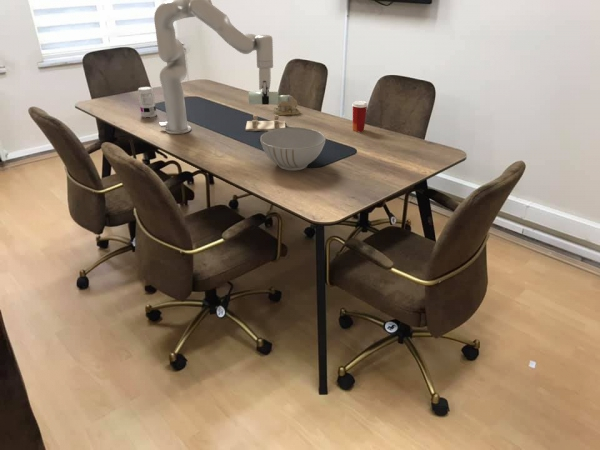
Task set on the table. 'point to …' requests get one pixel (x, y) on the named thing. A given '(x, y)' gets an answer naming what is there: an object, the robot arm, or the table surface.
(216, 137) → the table surface
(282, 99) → the bottle
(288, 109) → the ceramic model
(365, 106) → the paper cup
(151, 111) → the supplement can
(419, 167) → the table surface
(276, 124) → the bottle rest
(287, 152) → the decorative bowl
